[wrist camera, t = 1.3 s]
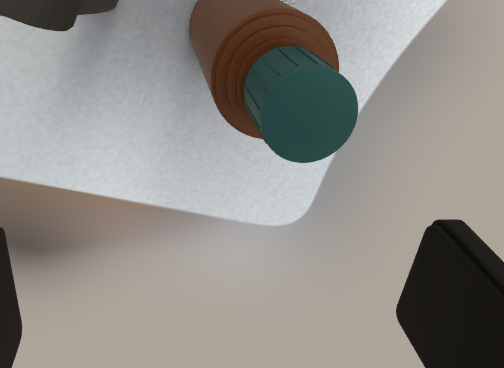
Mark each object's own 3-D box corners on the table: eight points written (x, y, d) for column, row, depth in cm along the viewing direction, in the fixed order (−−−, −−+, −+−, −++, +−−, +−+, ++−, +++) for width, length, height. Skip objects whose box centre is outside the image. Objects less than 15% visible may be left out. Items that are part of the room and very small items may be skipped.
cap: (328, 41, 20) (363, 61, 17) (324, 124, 22) (355, 157, 18) (240, 48, 19) (259, 71, 16) (244, 133, 21) (261, 169, 18)
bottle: (275, -21, 32) (394, 22, 16) (276, 69, 35) (376, 176, 20) (185, -16, 31) (219, 35, 16) (194, 76, 34) (231, 195, 19)
